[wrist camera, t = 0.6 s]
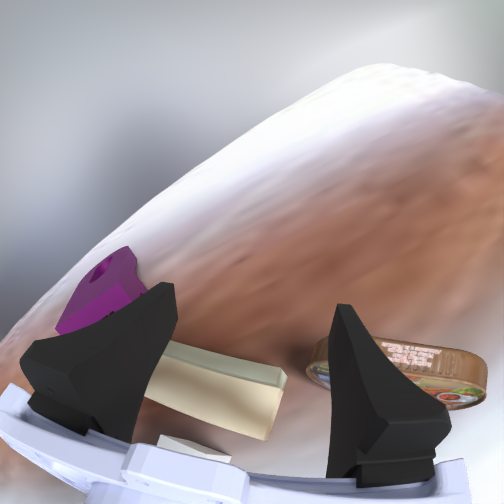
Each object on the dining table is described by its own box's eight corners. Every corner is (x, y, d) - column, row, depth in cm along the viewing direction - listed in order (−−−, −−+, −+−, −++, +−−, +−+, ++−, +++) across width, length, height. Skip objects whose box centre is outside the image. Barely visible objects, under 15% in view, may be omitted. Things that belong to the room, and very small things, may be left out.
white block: (212, 506, 21) (183, 513, 17) (172, 488, 23) (139, 489, 19) (231, 456, 24) (206, 454, 20) (191, 440, 26) (160, 434, 22)
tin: (310, 387, 26) (295, 361, 20) (321, 356, 28) (309, 320, 21) (464, 414, 19) (502, 395, 13) (470, 382, 21) (507, 351, 15)
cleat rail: (267, 441, 24) (257, 438, 22) (147, 397, 30) (130, 389, 27) (287, 377, 27) (280, 367, 25) (169, 346, 33) (154, 335, 31)
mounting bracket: (116, 313, 47) (104, 381, 30) (85, 272, 44) (54, 328, 27) (161, 282, 48) (167, 343, 31) (131, 239, 45) (118, 282, 28)
